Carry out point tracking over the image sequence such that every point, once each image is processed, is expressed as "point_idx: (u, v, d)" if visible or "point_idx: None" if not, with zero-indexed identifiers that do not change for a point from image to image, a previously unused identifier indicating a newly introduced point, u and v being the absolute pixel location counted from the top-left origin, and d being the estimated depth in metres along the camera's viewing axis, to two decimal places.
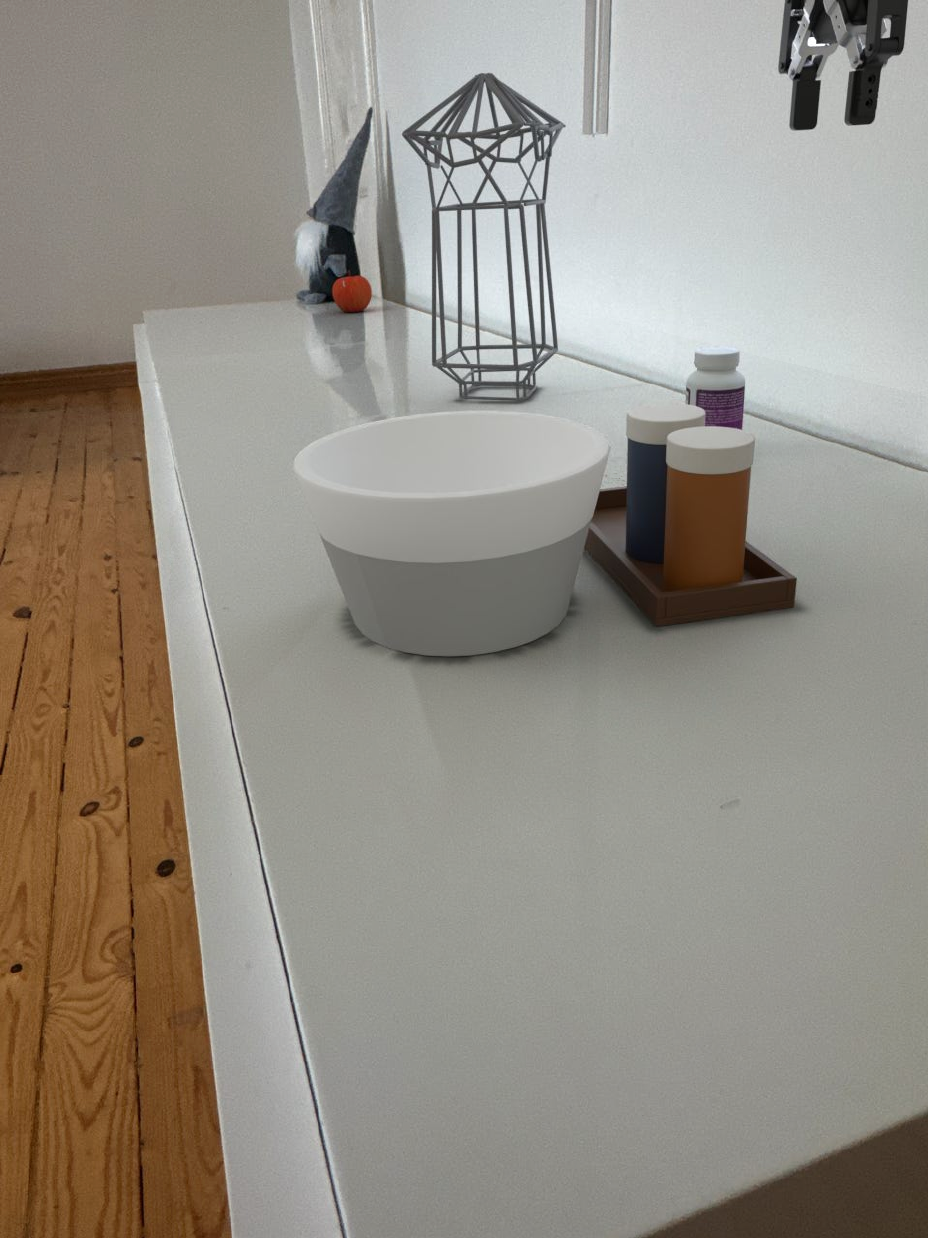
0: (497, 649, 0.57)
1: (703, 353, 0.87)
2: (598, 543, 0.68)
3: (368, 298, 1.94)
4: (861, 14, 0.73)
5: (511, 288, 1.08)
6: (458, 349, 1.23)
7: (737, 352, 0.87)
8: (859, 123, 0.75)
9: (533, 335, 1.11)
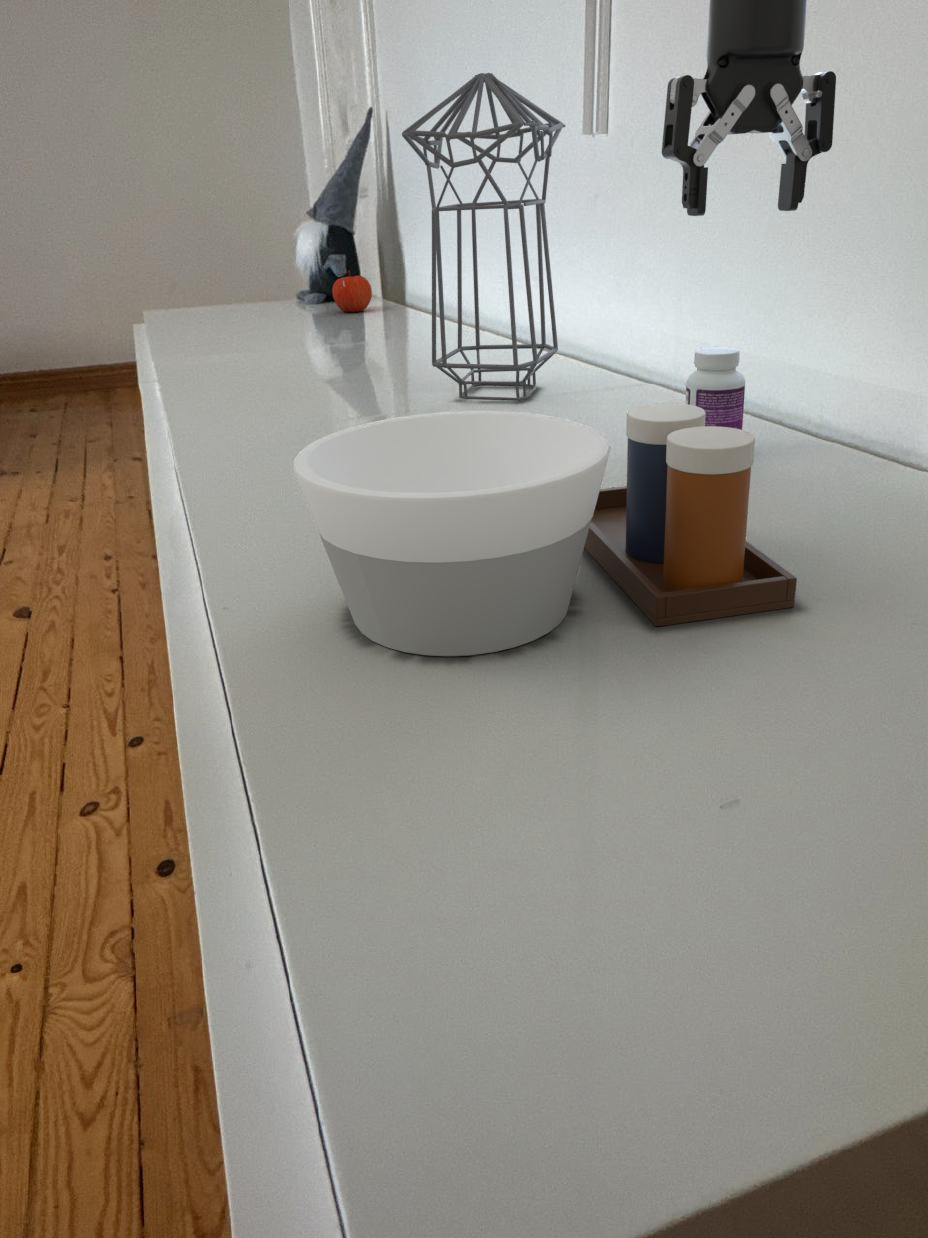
0: (497, 649, 0.57)
1: (703, 353, 0.87)
2: (598, 543, 0.68)
3: (368, 298, 1.94)
4: (717, 115, 0.79)
5: (511, 287, 1.08)
6: (458, 349, 1.23)
7: (737, 352, 0.87)
8: (691, 214, 0.82)
9: (533, 335, 1.11)
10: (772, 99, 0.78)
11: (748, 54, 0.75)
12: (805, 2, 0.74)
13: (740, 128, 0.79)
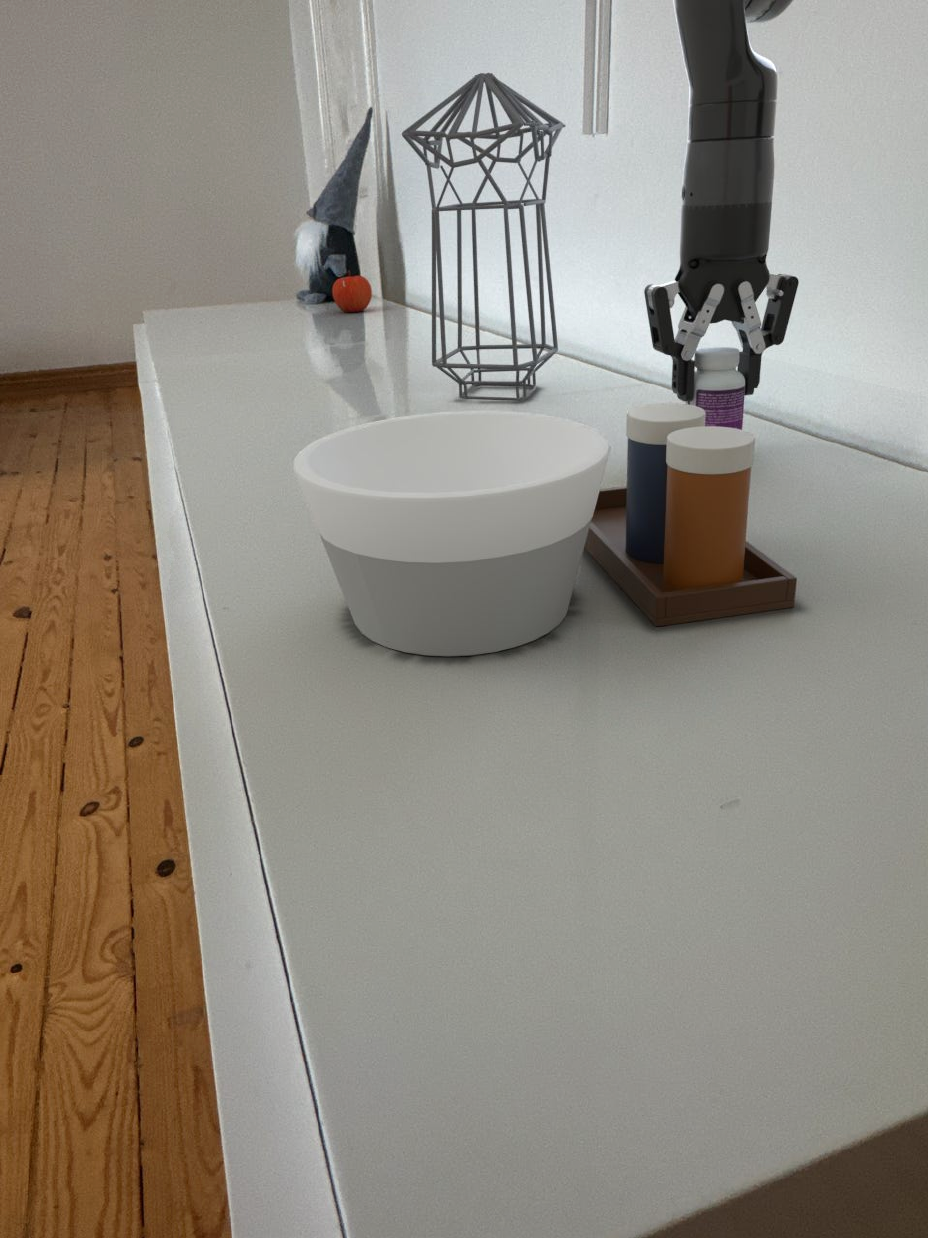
0: (497, 649, 0.57)
1: (703, 353, 0.87)
2: (598, 543, 0.68)
3: (368, 298, 1.94)
4: (690, 306, 0.86)
5: (511, 287, 1.08)
6: (458, 349, 1.23)
7: (737, 352, 0.87)
8: (680, 398, 0.89)
9: (533, 335, 1.11)
10: (739, 293, 0.84)
11: (716, 260, 0.82)
12: (768, 213, 0.81)
13: (711, 319, 0.86)
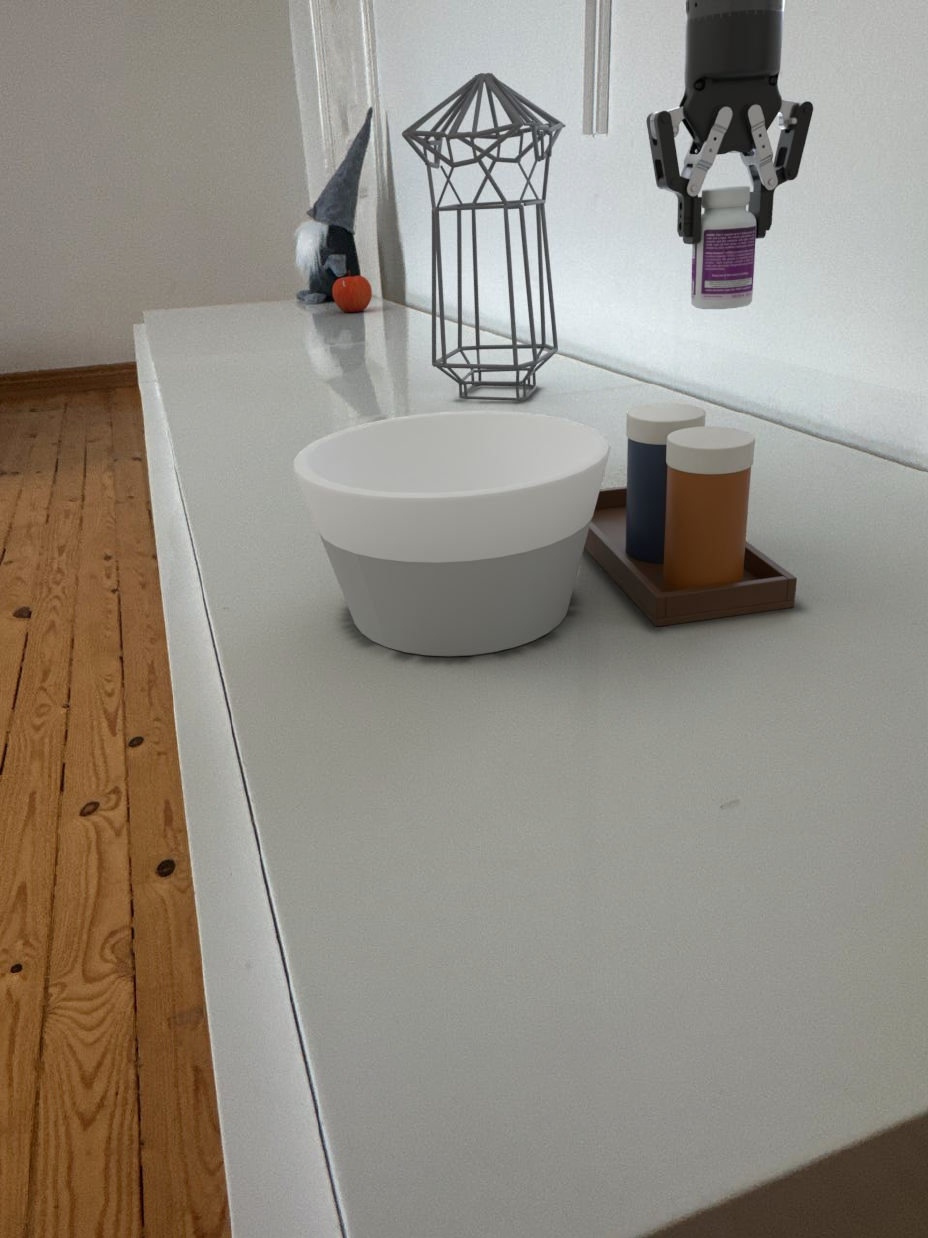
0: (497, 649, 0.57)
1: (710, 190, 0.81)
2: (598, 543, 0.68)
3: (368, 298, 1.94)
4: (695, 136, 0.80)
5: (511, 287, 1.08)
6: (458, 349, 1.23)
7: (747, 188, 0.81)
8: (686, 242, 0.83)
9: (533, 335, 1.11)
10: (748, 118, 0.78)
11: (723, 77, 0.76)
12: (780, 24, 0.75)
13: (719, 149, 0.80)
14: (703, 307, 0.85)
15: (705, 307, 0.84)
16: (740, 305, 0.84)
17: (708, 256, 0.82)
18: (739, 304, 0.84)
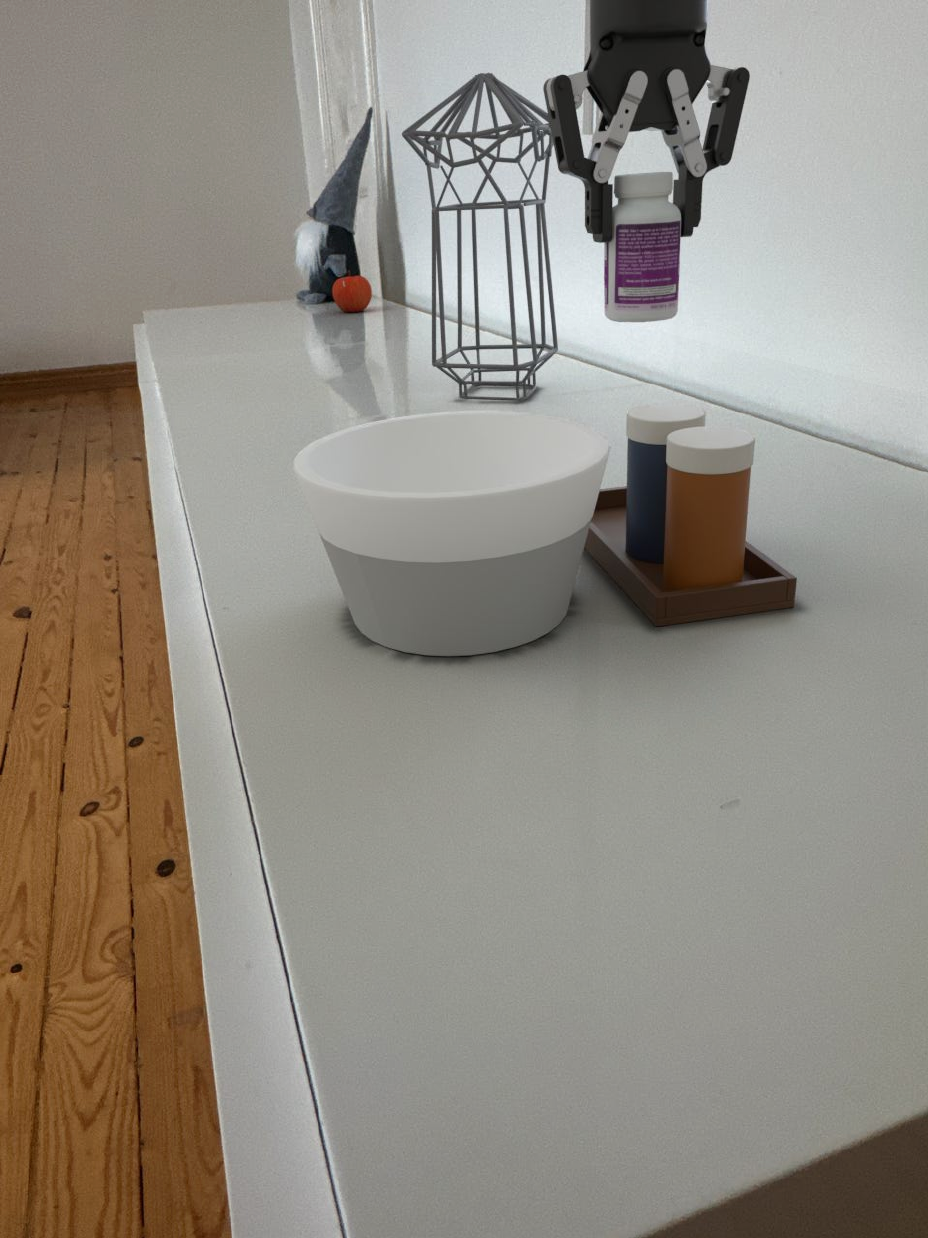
0: (497, 649, 0.57)
1: (624, 175, 0.66)
2: (598, 543, 0.68)
3: (368, 298, 1.94)
4: (604, 109, 0.64)
5: (511, 287, 1.08)
6: (458, 349, 1.23)
7: (669, 173, 0.65)
8: (596, 240, 0.68)
9: (533, 335, 1.11)
10: (668, 87, 0.63)
11: (634, 33, 0.60)
12: None
13: (633, 125, 0.64)
14: (617, 320, 0.69)
15: (619, 320, 0.69)
16: (662, 318, 0.68)
17: (622, 257, 0.67)
18: (660, 317, 0.68)
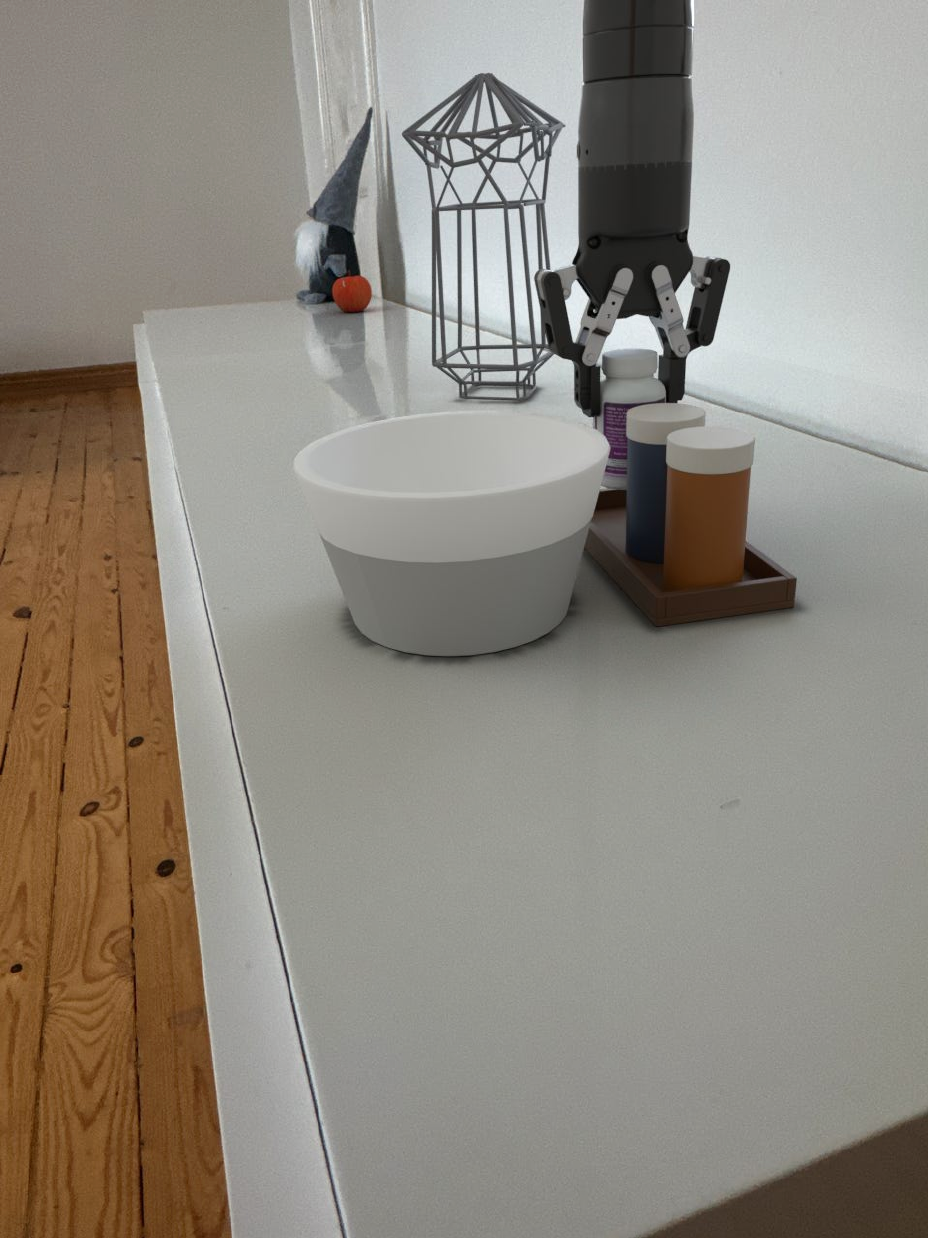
0: (497, 649, 0.57)
1: (611, 357, 0.69)
2: (598, 543, 0.68)
3: (368, 298, 1.94)
4: (592, 297, 0.67)
5: (511, 287, 1.08)
6: (458, 349, 1.23)
7: (654, 355, 0.69)
8: (585, 413, 0.71)
9: (533, 335, 1.11)
10: (653, 281, 0.66)
11: (620, 237, 0.63)
12: (686, 176, 0.63)
13: (619, 313, 0.67)
14: (605, 486, 0.72)
15: (607, 487, 0.72)
16: None
17: (609, 431, 0.70)
18: None
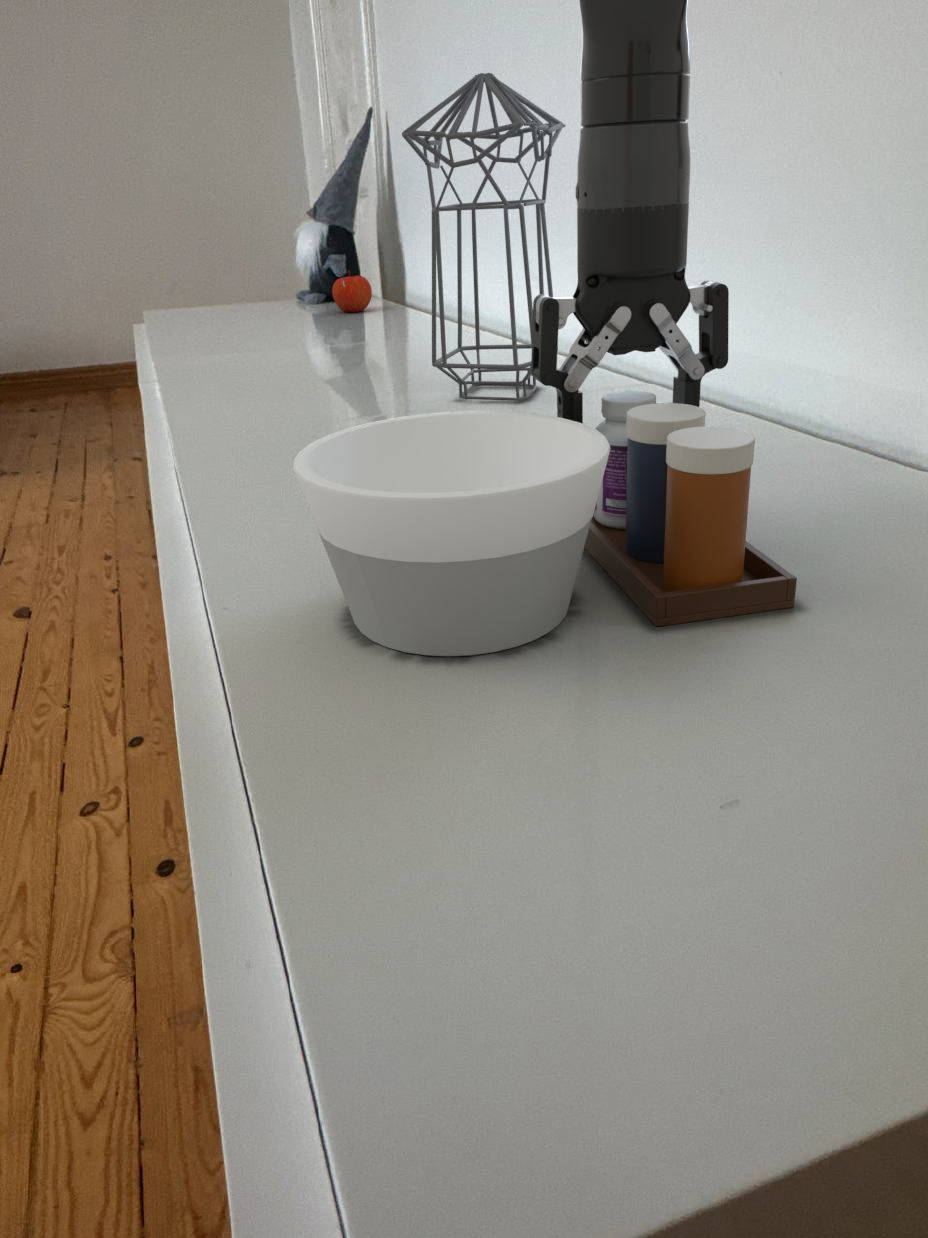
0: (497, 649, 0.57)
1: (610, 400, 0.70)
2: (598, 543, 0.68)
3: (368, 298, 1.94)
4: None
5: (511, 287, 1.08)
6: (458, 349, 1.23)
7: (652, 399, 0.70)
8: None
9: None
10: (652, 320, 0.67)
11: (618, 277, 0.65)
12: (683, 218, 0.64)
13: (618, 349, 0.69)
14: (605, 525, 0.74)
15: (607, 526, 0.74)
16: None
17: (609, 473, 0.72)
18: None
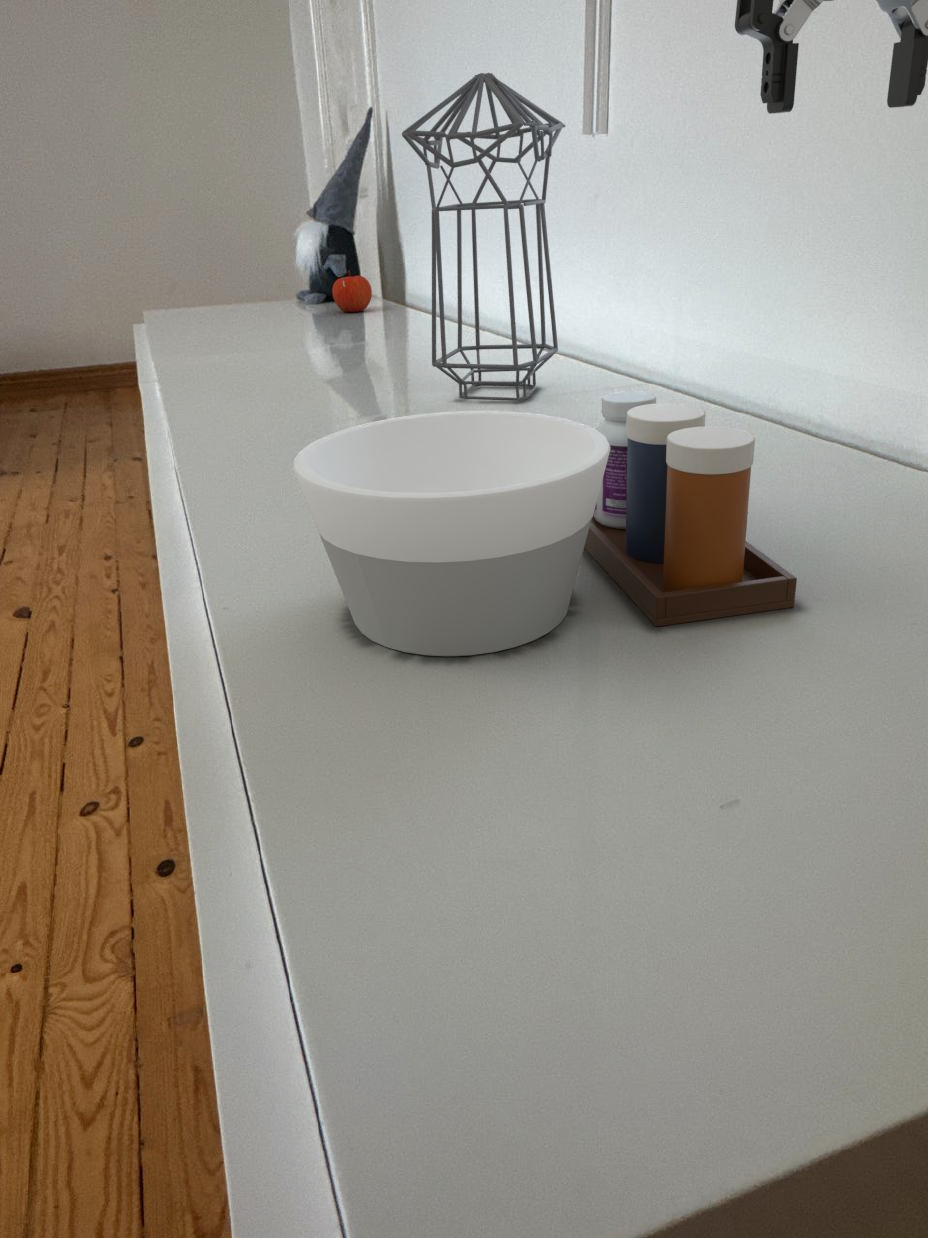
0: (497, 649, 0.57)
1: (610, 400, 0.70)
2: (598, 543, 0.68)
3: (368, 298, 1.94)
4: None
5: (511, 287, 1.08)
6: (458, 349, 1.23)
7: (652, 399, 0.70)
8: (773, 111, 0.61)
9: (533, 335, 1.11)
10: None
11: None
12: None
13: None
14: (605, 525, 0.74)
15: (607, 526, 0.74)
16: None
17: (609, 473, 0.72)
18: None
